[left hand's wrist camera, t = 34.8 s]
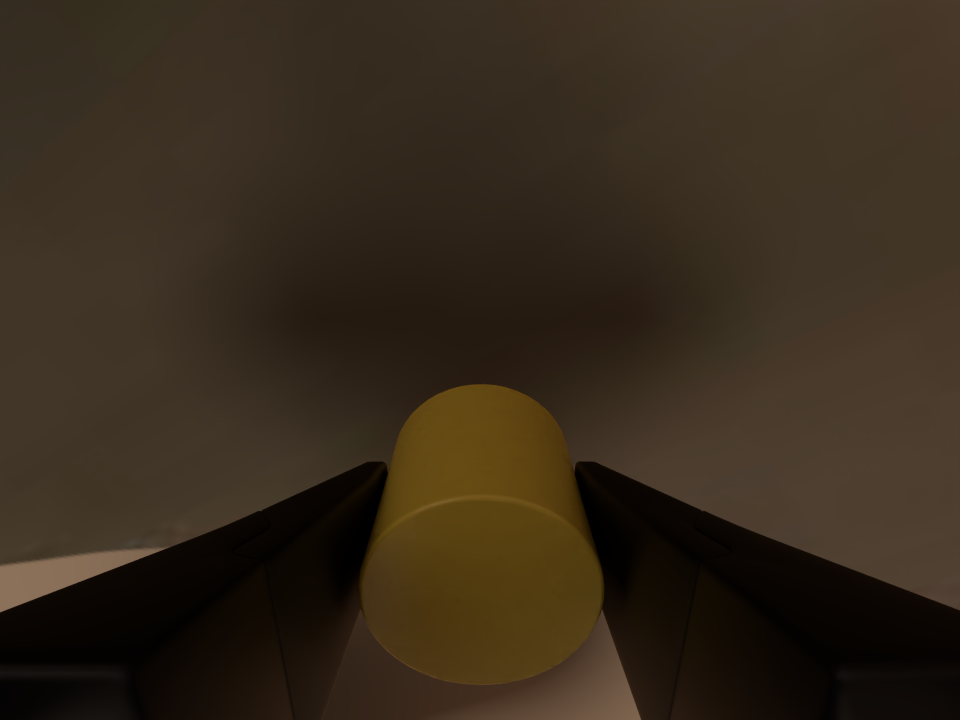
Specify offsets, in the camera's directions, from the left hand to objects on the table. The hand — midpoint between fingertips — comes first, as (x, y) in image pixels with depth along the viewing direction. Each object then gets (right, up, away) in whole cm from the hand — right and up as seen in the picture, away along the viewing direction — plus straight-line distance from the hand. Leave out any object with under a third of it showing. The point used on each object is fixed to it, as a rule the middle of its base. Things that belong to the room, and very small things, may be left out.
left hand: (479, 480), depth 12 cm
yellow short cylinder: (0, 0, +1) cm, 1 cm away
